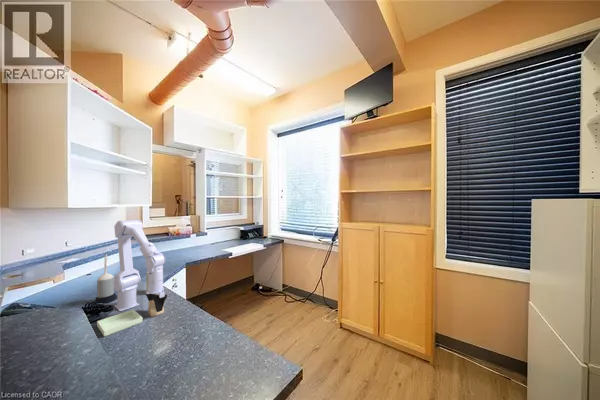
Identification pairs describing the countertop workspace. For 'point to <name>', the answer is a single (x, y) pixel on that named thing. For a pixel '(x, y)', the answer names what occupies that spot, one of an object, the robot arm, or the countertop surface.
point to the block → (153, 309)
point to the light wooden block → (147, 281)
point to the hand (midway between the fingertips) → (156, 308)
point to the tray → (119, 322)
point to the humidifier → (105, 286)
